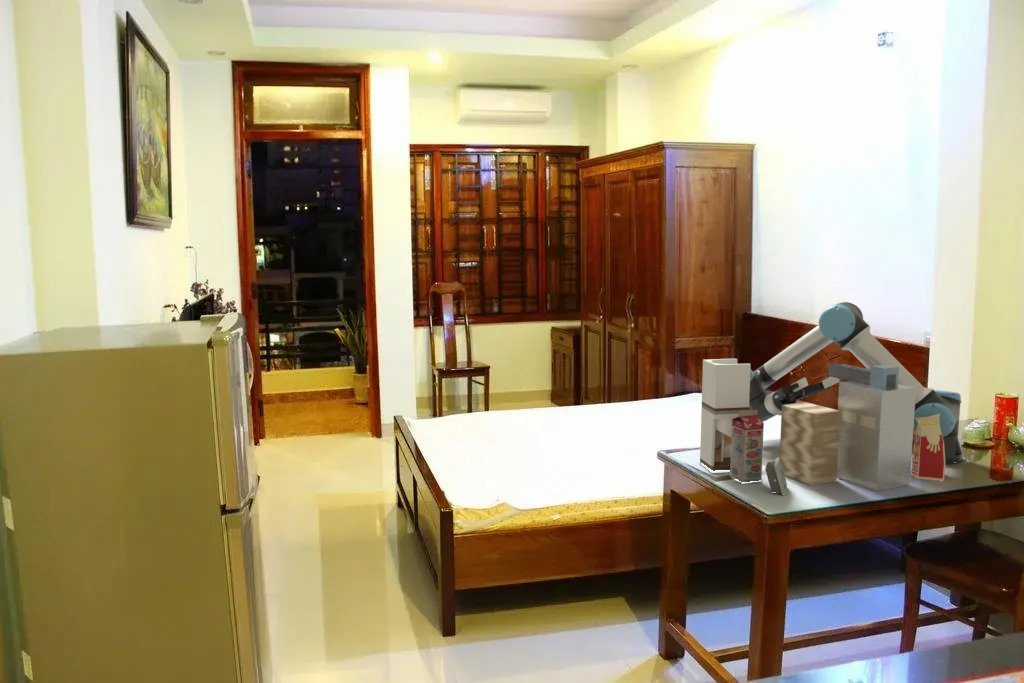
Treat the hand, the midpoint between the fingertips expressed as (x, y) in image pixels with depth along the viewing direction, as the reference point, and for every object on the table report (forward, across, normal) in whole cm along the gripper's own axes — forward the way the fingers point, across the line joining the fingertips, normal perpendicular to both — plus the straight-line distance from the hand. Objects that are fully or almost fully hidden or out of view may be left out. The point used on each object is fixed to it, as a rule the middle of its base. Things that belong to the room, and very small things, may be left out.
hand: (822, 379), depth 263 cm
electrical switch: (0, +33, -33) cm, 46 cm away
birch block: (-5, +15, -29) cm, 33 cm away
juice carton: (-10, +34, -27) cm, 45 cm away
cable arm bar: (+14, 0, -6) cm, 16 cm away
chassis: (+4, 0, -35) cm, 35 cm away
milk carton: (+8, -20, -37) cm, 43 cm away
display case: (-22, +32, -20) cm, 44 cm away
